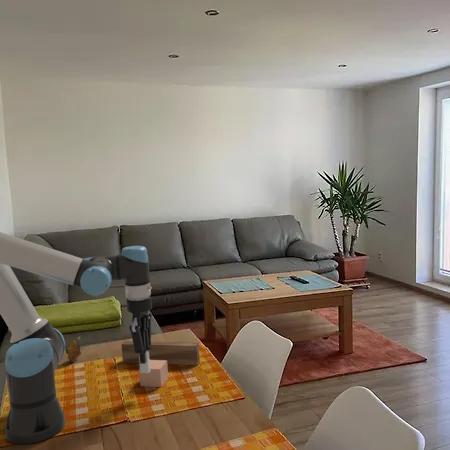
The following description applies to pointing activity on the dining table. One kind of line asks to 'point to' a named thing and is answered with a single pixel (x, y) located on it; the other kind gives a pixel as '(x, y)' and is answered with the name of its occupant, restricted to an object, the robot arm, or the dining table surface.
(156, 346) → the walnut rail
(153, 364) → the block
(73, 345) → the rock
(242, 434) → the dining table surface
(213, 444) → the dining table surface
